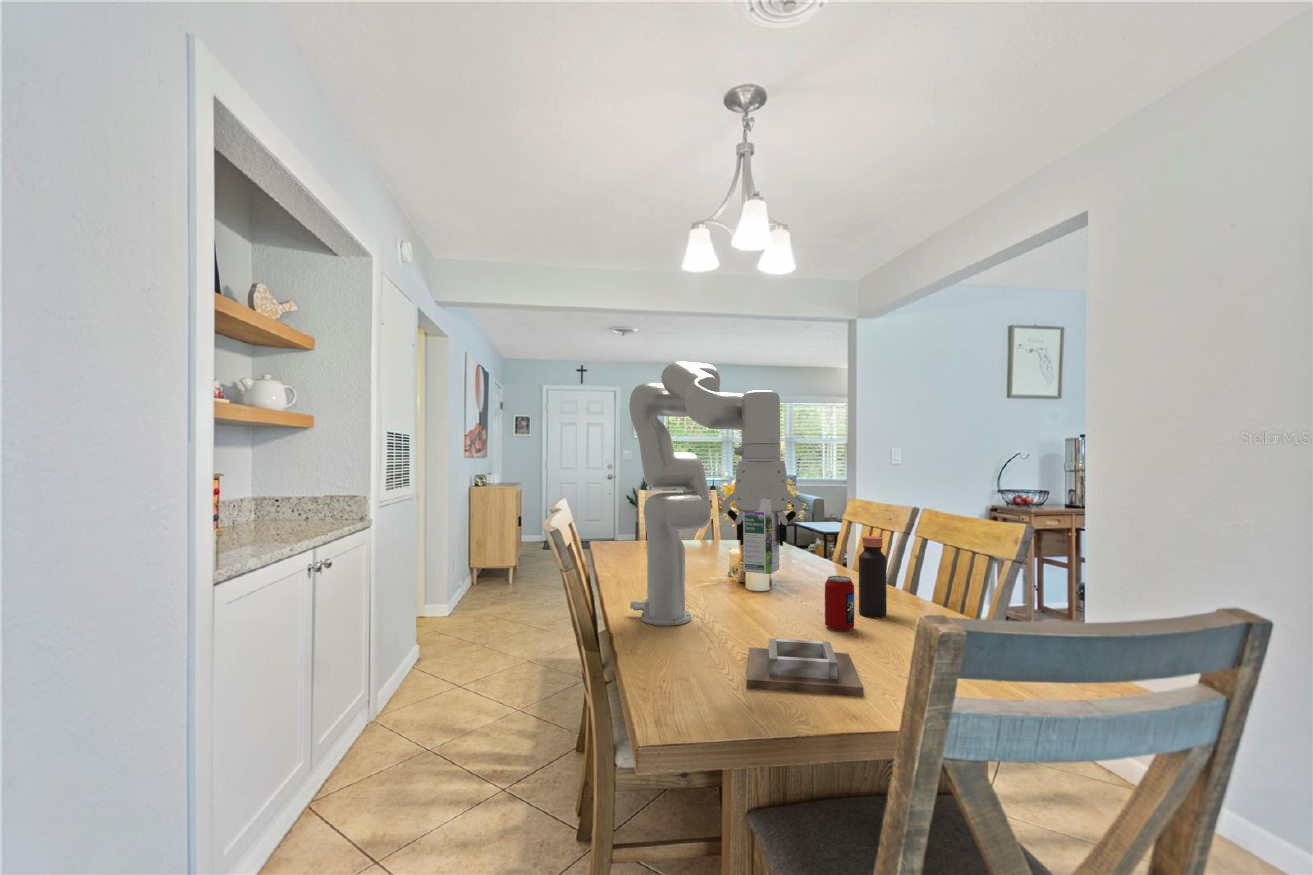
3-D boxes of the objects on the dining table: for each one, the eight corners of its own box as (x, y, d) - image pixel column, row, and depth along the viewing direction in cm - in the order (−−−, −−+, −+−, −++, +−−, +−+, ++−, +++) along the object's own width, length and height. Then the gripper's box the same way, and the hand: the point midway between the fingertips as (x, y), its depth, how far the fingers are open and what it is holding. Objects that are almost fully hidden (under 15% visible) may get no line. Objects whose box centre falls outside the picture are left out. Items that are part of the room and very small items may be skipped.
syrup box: (742, 572, 118) (741, 497, 118) (752, 567, 123) (752, 495, 124) (770, 574, 115) (770, 498, 116) (780, 569, 120) (779, 496, 121)
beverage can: (858, 632, 142) (857, 581, 142) (829, 632, 142) (828, 580, 143) (849, 624, 149) (849, 575, 149) (821, 624, 149) (821, 575, 149)
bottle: (889, 613, 159) (888, 536, 159) (883, 619, 153) (883, 540, 153) (862, 610, 162) (862, 534, 163) (855, 615, 157) (855, 537, 157)
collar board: (746, 688, 109) (746, 662, 109) (748, 654, 126) (748, 633, 127) (863, 696, 105) (863, 670, 105) (848, 660, 123) (848, 638, 123)
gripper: (715, 453, 118) (715, 546, 117) (807, 453, 115) (808, 548, 114) (718, 453, 125) (719, 541, 125) (805, 453, 122) (806, 543, 121)
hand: (761, 543), depth 119 cm, fingers closed on syrup box, 6 cm apart
